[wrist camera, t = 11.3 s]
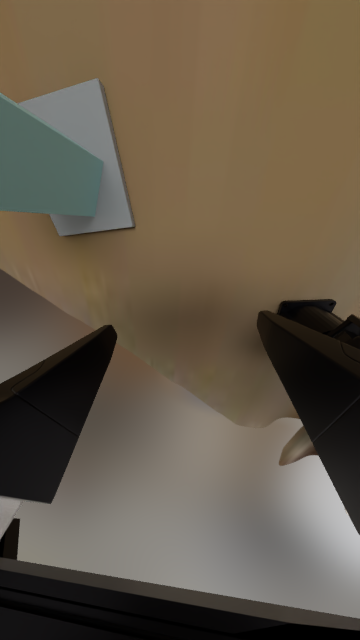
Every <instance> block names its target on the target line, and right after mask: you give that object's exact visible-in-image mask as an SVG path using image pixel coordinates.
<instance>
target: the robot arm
mask: <svg viewBox="0 0 360 640" xmlns="http://www.w3.org/2000/svg"><path fill="white" fill-rule="evenodd" d="M330 303H331V304H330ZM285 304H286V305H285ZM284 305H285V306H284ZM335 305H336V301H334V300H332V299H328V300H300V301H284V302H282V303H281V305H280V308H279V311H278V315H277V314H275V313H272V312H270V311H260V312H259V314H258V319H257V328H258V331H259V334H260V336H261V339H262V342H263V345H264V347H265V350H266V352H267V354H268V356H269V358H270V360H271V362H272V364H273V366H274V368H275V370H276V372H277V374H278V376H279V378H280V380H281V382H282V384H283V386H284V388H285V390H286V392H287V394H288V396H289V398H290V400H291V402H292V404H293V406H294V408H295V409H296V411H297V413H298V415H299V417H300V419H301V421H302V423H303V425H304V427H305V429H306V431H307V433H308V435H309V437H310V439H311V441H312V442H313V445H314V447H315V449H316V451H317V453H318V455H319V457H320V459H321V461H322V463H323V465H324V467H325V469H326V471H327V473H328V475H329V477H330V479H331V481H332V483H333V485H334V487H335V489H336V491H337V493H338V495H339V497H340V499H341V501H342V503H343V505H344V507H345V509H346V511H347V513H348V515H349V516H350V518H351V520H352V522H353V524H354V526H355V528H356V530H357V532H358V533H359V535H360V318H359V317H357V316H355V315H353V314H352V315H350V316H349V317H348V318H347V320H345V321H343V320H342V319H340V318H339V317H338V316H336V315H335V314H333V313H332V311H333V309H334V307H335ZM116 340H117V333H116V331H115V329H114V328H113V326H112V325H104V326H103V327H101V328H99V329H97V330H96V331H94V332H92V333H91V334H89V335H87V336H85V337H84V338H82V339H80V340H78V341H76V342H75V343H73V344H72V345H69V346H68V347H66V348H65V349H62V350H61V351H59V352H57V353H55V354H54V355H52V356H50V357H48V358H47V359H45V360H43V361H41V362H39V363H38V364H36V365H34V366H32V367H30V368H29V369H27V370H25V371H23V372H21V373H19V374H18V375H16V376H14V377H12V378H10V379H8V380H6V381H4V382H2V383H1V384H0V640H360V619H358V618H352V617H346V616H340V615H334V614H329V613H323V612H317V611H311V610H305V609H300V608H294V607H288V606H282V605H276V604H270V603H264V602H259V601H252V600H247V599H241V598H235V597H229V596H223V595H218V594H212V593H205V592H200V591H194V590H188V589H182V588H176V587H171V586H165V585H159V584H153V583H147V582H141V581H136V580H130V579H124V578H118V577H112V576H106V575H100V574H95V573H88V572H82V571H77V570H71V569H65V568H59V567H54V566H48V565H42V564H36V563H30V562H24V561H18V560H17V551H18V537H19V525H20V519H17V518H14V516H15V515H16V513H17V511H18V510H19V508H20V506H21V505H22V503H23V501H26V502H37V503H46V504H51V503H52V500H53V499H54V496H55V494H56V492H57V489H58V487H59V484H60V482H61V479H62V477H63V474H64V472H65V470H66V467H67V465H68V463H69V460H70V458H71V455H72V453H73V450H74V448H75V445H76V443H77V441H78V438H79V437H78V436H79V435H80V433H81V431H82V428H83V426H84V423H85V421H86V418H87V416H88V413H89V411H90V409H91V406H92V404H93V401H94V399H95V397H96V394H97V392H98V389H99V387H100V384H101V382H102V380H103V377H104V374H105V372H106V370H107V367H108V365H109V363H110V360H111V357H112V354H113V351H114V347H115V344H116Z"/></svg>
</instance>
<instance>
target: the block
mask: <svg viewBox="0 0 360 640" xmlns="http://www.w3.org/2000/svg"><path fill="white" fill-rule="evenodd" d="M102 168H103V161H102V160H100V159H99V158H97V157H96V156H94V155H93V154H92V153H90V152H89V151H87V150H86V149H84V148H83V147H81V146H80V145H78V144H77V143H76V142H74V141H73V140H71V139H70V138H68V137H67V136H65V135H64V134H62V133H61V132H59V131H58V130H57V129H55V128H54V127H52V126H51V125H49V124H48V123H46V122H45V121H43V120H42V119H40V118H38V117H37V116H35V115H34V114H32V113H31V112H29V111H28V110H26V109H25V108H23V107H22V106H20V105H18V104H17V103H15V102H14V101H12V100H11V99H9V98H8V97H6V96H5V95H3V94H2V93H0V210H1V211H16V212H31V213H47V214H62V215H78V216H93V217H95V212H96V206H97V200H98V193H99V187H100V181H101V174H102Z"/></svg>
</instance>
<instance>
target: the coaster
mask: <svg viewBox="0 0 360 640" xmlns="http://www.w3.org/2000/svg"><path fill="white" fill-rule="evenodd" d="M18 105H20V106H22V107H23V108H25V109H26V110H28V111H29V112H31V113H32V114H34V115H35V116H37V117H38V118H40V119H42V120H43V121H45V122H46V123H48V124H49V125H51V126H52V127H54V128H55V129H57V130H58V131H59V132H61V133H62V134H64V135H65V136H67V137H68V138H70V139H71V140H73V141H74V142H76V143H77V144H78V145H80V146H81V147H83V148H84V149H86V150H87V151H89V152H90V153H92V154H93V155H94V156H96V157H97V158H99V159H100V160H102V161H103V168H102V174H101V181H100V187H99V193H98V200H97V206H96V212H95V217H93V216H78V215H62V214H49V215H50V217H51V219H52V221H53V223H54V225H55V227H56V229H57V232H58V234H59V236H66V235H74V234H82V233H89V232H97V231H105V230H112V229H120V228H128V227H135V222H134V218H133V214H132V209H131V205H130V200H129V196H128V192H127V187H126V183H125V178H124V174H123V170H122V165H121V161H120V157H119V152H118V148H117V143H116V139H115V135H114V130H113V126H112V121H111V117H110V113H109V108H108V104H107V100H106V95H105V91H104V86H103V85H102V83H101V82H100V80H99V79H98V78H96V79H93V80H90V81H87V82H83V83H80V84H77V85H74V86H71V87H68V88H65V89H61V90H58V91H55V92H52V93H49V94H46V95H43V96H40V97H36V98H33V99H30V100H27V101H24V102H21V103H18Z"/></svg>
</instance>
